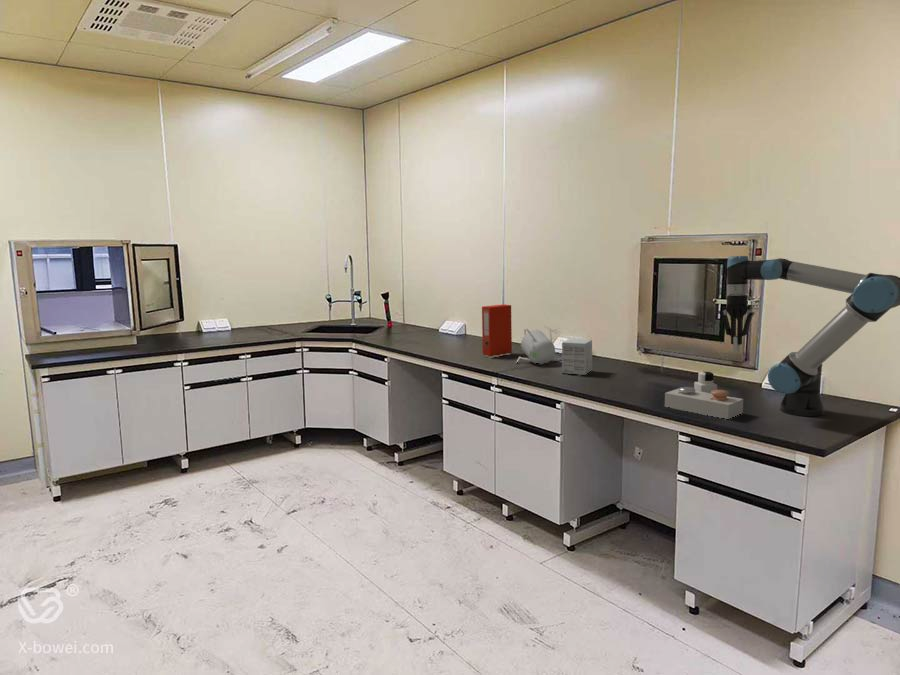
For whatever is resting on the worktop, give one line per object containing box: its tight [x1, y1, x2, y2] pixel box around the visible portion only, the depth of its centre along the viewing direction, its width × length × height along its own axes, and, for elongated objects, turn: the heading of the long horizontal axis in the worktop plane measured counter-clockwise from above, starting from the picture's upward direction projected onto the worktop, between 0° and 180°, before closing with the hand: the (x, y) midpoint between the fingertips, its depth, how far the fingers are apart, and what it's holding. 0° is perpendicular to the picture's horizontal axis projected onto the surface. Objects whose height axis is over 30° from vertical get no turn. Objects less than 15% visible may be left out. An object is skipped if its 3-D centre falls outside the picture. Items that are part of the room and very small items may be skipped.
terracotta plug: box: [711, 389, 730, 402], centre depth 237 cm, size 6×6×8 cm
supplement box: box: [561, 338, 593, 375], centre depth 320 cm, size 13×13×18 cm
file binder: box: [481, 303, 513, 356], centre depth 374 cm, size 8×17×32 cm, turn 124°
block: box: [664, 388, 744, 420], centre depth 243 cm, size 27×12×6 cm, turn 39°
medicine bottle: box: [693, 371, 718, 393], centre depth 259 cm, size 7×7×12 cm
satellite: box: [516, 325, 560, 364], centre depth 348 cm, size 23×20×25 cm
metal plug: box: [678, 386, 695, 395], centre depth 248 cm, size 6×6×8 cm
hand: (736, 352), depth 242 cm, fingers closed
